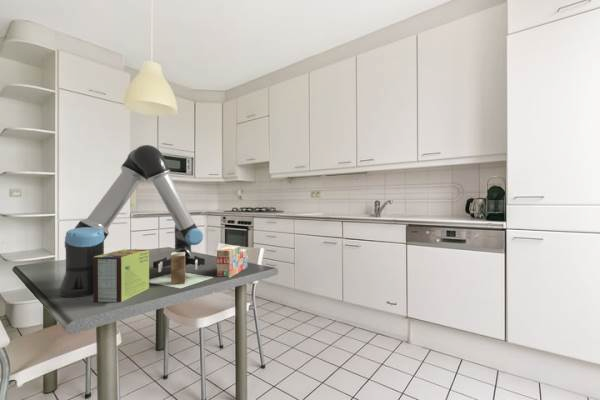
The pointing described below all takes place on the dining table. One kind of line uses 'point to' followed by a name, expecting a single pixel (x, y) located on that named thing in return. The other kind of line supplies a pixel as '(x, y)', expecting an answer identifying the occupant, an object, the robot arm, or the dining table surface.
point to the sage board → (189, 280)
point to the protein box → (120, 275)
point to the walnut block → (177, 268)
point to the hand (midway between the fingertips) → (178, 267)
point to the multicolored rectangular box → (231, 260)
